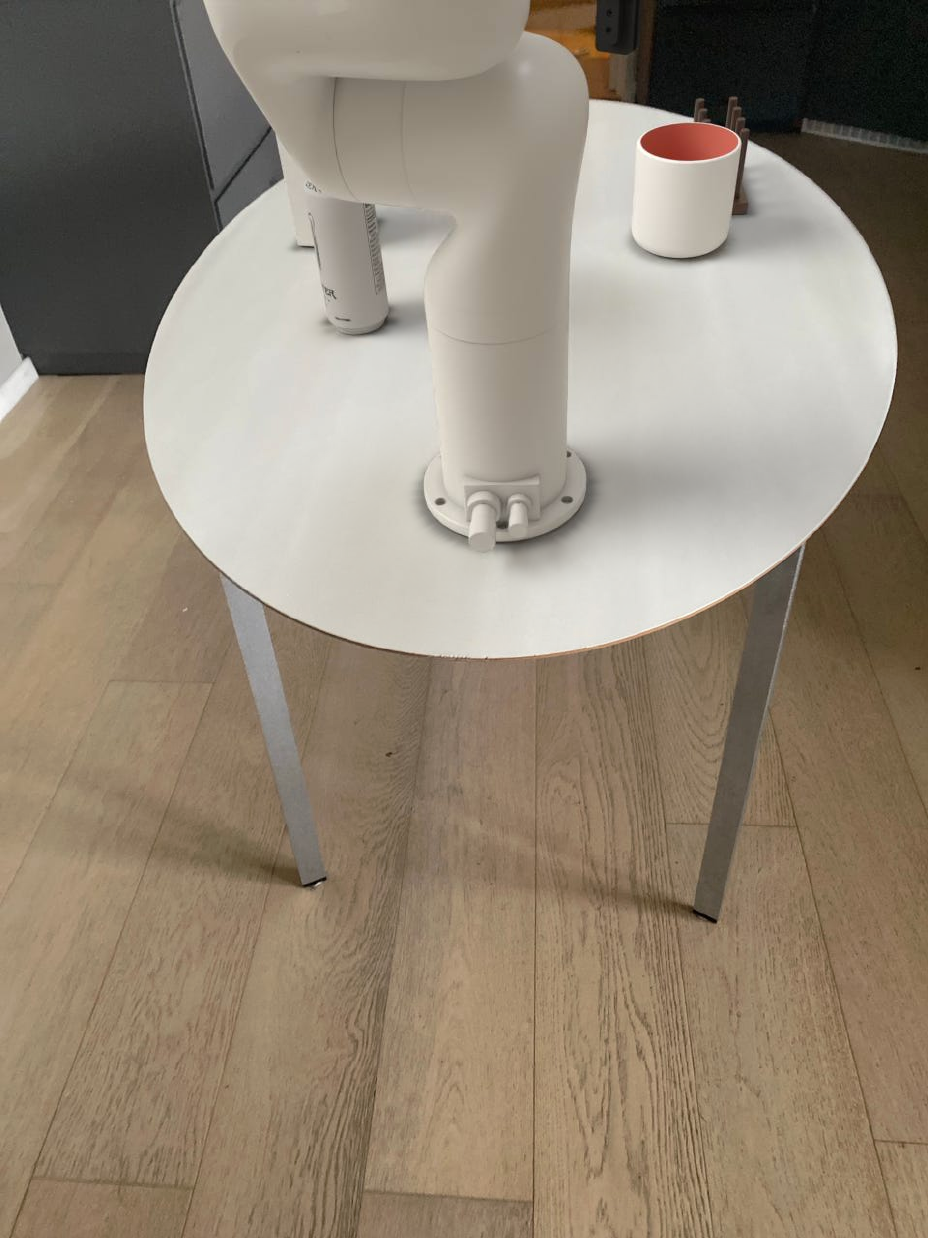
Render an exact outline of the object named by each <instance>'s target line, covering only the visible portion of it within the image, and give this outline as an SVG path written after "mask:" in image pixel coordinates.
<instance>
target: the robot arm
mask: <svg viewBox="0 0 928 1238" xmlns="http://www.w3.org/2000/svg"><path fill="white" fill-rule="evenodd" d="M202 1H203V5H204V7H205V10H206V13H207V16H208V19H209V20H208V21H209V22H210V25H211V28H212V30H213V32H214V35H215V37H216V39H217V41H218V44H219V46H220V47H221V50H223V53H224V54H225V56H226V58H227V60H228V62H229V63H230V65H231V66H232V69H233V70H234V71H235V73H236V74H237V76H238V78H239V79H240V80H241V83H242V84H243V85H244V87H245V88H246V90H247V91H248V93H249V95H250V97H251V98H252V99H253V101H254V102H255V104H256V105H257V107H258V109H259V110H260V112H261V113H262V115H263V116H264V118H265V120H266V121H267V123H268V124H269V126H270V127H271V128H272V131H273V132H274V134H275V136H276V135H277V136H278V138H279V139H280V141H281V142H282V144H283V145H284V147H285V148H286V150H287V152H288V153H289V155H290V156H291V158H292V159H293V161H294V162H295V163H296V165H297V166H298V168H299V169H300V171H301V172H302V173H303V174H304V176H305V177H306V178H307V179H308V180H309V181H310V182H311V183H312V184H313V185H314V186H315V187H316V188H317V189H319V190H320V191H322V192H323V193H325V194H327V195H329V196H331V197H334V198H337V199H340V200H345V201H350V202H357V203H365V204H375V206H385V207H386V206H388V207H397V208H406V209H407V208H408V209H417V210H424V211H426V212H432V213H439V214H444V215H447V216H450V217H451V218H452V219H453V220H454V222H455V227H454V228H452V230H450V231H449V233H448V234H447V236H446V237H445V238H444V239H443V240H442V242H441V243H440V244H439V245H438V247H437V248H436V250H435V252H434V253H433V254H432V255H431V258H430V260H429V262H428V264H427V267H426V269H425V274H424V279H423V302H424V303H423V304H424V312H425V318H426V319H425V320H426V327H427V328H426V329H427V336H428V348H429V357H430V367H431V377H432V383H433V384H432V385H433V393H434V394H433V395H434V404H435V413H436V414H435V415H436V425H437V433H438V442H439V453H437V454H436V455H435V456H434V458H433V459H432V461H431V462H430V463H429V465H428V467H427V469H426V471H425V474H424V478H423V492H424V493H423V494H424V499H425V502H426V505H427V508H428V509H429V511H430V513H431V514H432V517H434V518H435V519H436V520H437V521H438V522H439V523H440V524H442V526H444V527H446V528H448V529H449V530H452V531H453V532H455V533H457V534H459V535H463V536H465V537H467V538H468V547H470V549H471V550H473V551H474V552H476V553H484V554H485V553H488V552H490V551H492V550H493V549H494V548H495V546H496V543H497V542H500V543H501V542H516V541H522V540H529V539H532V538H535V537H538V536H539V537H540V536H541V535H545V534H547V533H549V532H551V531H553V530H555V529H557V528H559V527H561V526H562V525H564V524H565V523H566V522H568V521H570V520H571V518H573V516H574V515H575V514H576V513H577V512H578V511H579V509H580V507H581V506H582V504H583V502H584V501H585V496H586V493H587V478H588V477H587V472H586V468H585V466H584V463H583V462H582V460H581V458H580V457H579V456H578V455H577V454H576V452H575V451H574V450H573V449H572V448H570V447H569V446H568V402H569V401H568V396H569V394H568V393H569V340H570V339H569V336H570V335H569V333H570V331H569V330H570V276H571V275H570V271H571V250H572V249H571V247H572V234H573V223H574V215H575V206H576V200H577V192H578V187H579V181H580V175H581V169H582V164H583V158H584V153H585V147H586V141H587V135H588V128H589V127H588V126H589V120H590V119H589V118H590V91H589V86H588V79H587V77H586V74H585V72H584V70H583V68H582V65H581V64H580V62H579V61H578V59H577V58H576V57H575V56H574V54H573V53H572V52H571V51H570V50H569V49H568V48H567V47H565V46H564V45H562V44H561V43H559V42H557V40H553V39H551V38H549V37H547V36H544V35H542V34H538V33H533V32H531V31H527V30H525V28H526V25H527V23H528V20H529V14H530V11H531V10H530V9H531V0H202ZM642 8H643V0H596V9H595V11H596V13H595V14H596V15H595V36H594V37H595V40H594V47H595V50H596V51H597V52H600V53H606V54H607V53H608V54H614V55H621V56H628V55H629V54H631V53H632V52H635V51H637V50H638V49H639V47H640V40H641V27H642V26H641V24H642V10H643V9H642Z"/></svg>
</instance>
